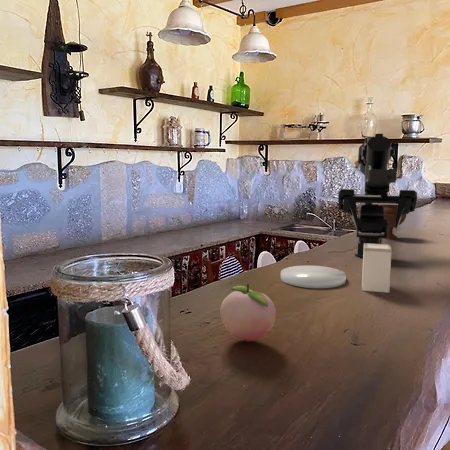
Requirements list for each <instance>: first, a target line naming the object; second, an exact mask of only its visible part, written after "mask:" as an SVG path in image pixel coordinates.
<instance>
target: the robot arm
mask: <svg viewBox="0 0 450 450" xmlns="http://www.w3.org/2000/svg"><path fill="white" fill-rule="evenodd" d="M394 155H395V149H393V147H392V141H391V140H390V139H389V138H388V137H387V136H384V133H375V134H374V136H367V137H365V138H364V142H363V143H362V144H361V145H360V146H359V147H358V156H357V157H358V158H357V165H359V171H360V173H362V174H363V175H364V194H362V193H361V194H360V193H355V188H349V189H348V188H347V189H346V188H341V189H340V190H339V191H338V196H337V197H338V198H337V199H338V202H337V204H338V205H337V207H338V209H339V210H340V211H343V212H344V213H347V214H348V216H349V217H350V219H351V220H352V223H353V225H354V226H355V228H356V230H355V236H356V238H358V242H357V253H354V256H355V257H359V258H362V259H363V249H364V243H373V244H383V243H382V240H383V239H385V238H387V235H388V226H389V223H388V222H387V219H386V218H384V208H383V206H382V205H380V204H386V205H398V208H397V214H396V221H395V227H394V229H398V227H399V226H400V225H399V223H400V220H401V219H402V217H403V216H404V214H407V215H409V213H412V212H414V211H415V210H416V206H417V201H418V192H417V191H415V190H414V189H399V193H398V195H389V192H390V183H392V184H394V183H397V182H396V181H397V180H398V179H397V176H398V175H397V174H398V173H397V172H398V171H397V168H394V167H393V168H388V164H389V162H390V160H391V159H392V157H393V156H394ZM357 203H359V204H362V205H361V206H360V209H359V215H358V212H357ZM385 240H386V239H385Z"/></svg>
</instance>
